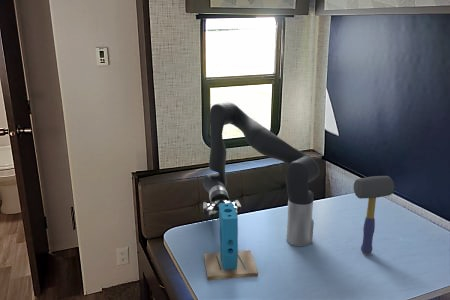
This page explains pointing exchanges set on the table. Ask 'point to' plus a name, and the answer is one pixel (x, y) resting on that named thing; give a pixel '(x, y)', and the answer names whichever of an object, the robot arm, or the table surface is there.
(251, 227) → the table surface
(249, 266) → the oak board
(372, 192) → the rubber mallet
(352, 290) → the table surface
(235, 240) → the block
